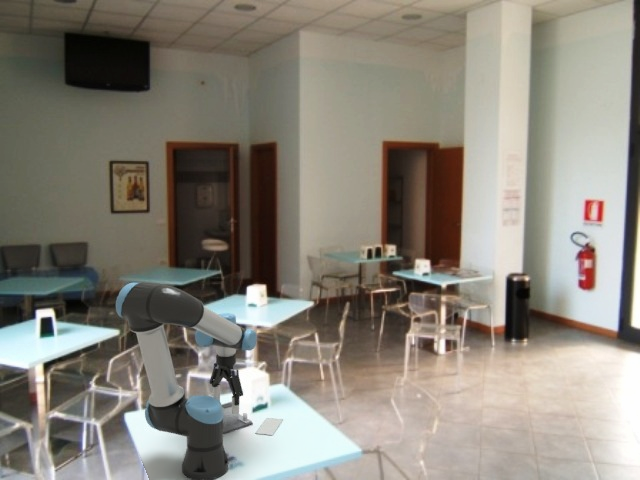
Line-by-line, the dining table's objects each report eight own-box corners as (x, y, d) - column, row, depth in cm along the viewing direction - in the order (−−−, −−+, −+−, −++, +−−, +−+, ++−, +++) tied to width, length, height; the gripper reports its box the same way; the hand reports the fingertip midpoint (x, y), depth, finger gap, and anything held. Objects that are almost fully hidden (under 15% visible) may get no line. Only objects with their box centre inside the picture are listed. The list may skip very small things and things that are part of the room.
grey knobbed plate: (217, 436, 217) (217, 426, 217) (200, 426, 226) (200, 416, 226) (252, 424, 228) (252, 415, 227) (235, 415, 237) (235, 406, 236)
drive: (223, 427, 223) (223, 409, 222) (216, 423, 227) (216, 405, 226) (238, 422, 227) (238, 404, 227) (231, 418, 231) (231, 401, 230)
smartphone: (254, 433, 219) (266, 417, 234) (254, 435, 219) (266, 419, 234) (272, 435, 218) (283, 419, 232) (272, 436, 218) (283, 420, 232)
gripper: (252, 359, 217) (252, 415, 219) (217, 345, 236) (217, 397, 237) (235, 363, 212) (235, 419, 214) (200, 348, 231) (200, 401, 232)
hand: (225, 408), depth 225 cm, fingers open, 13 cm apart
